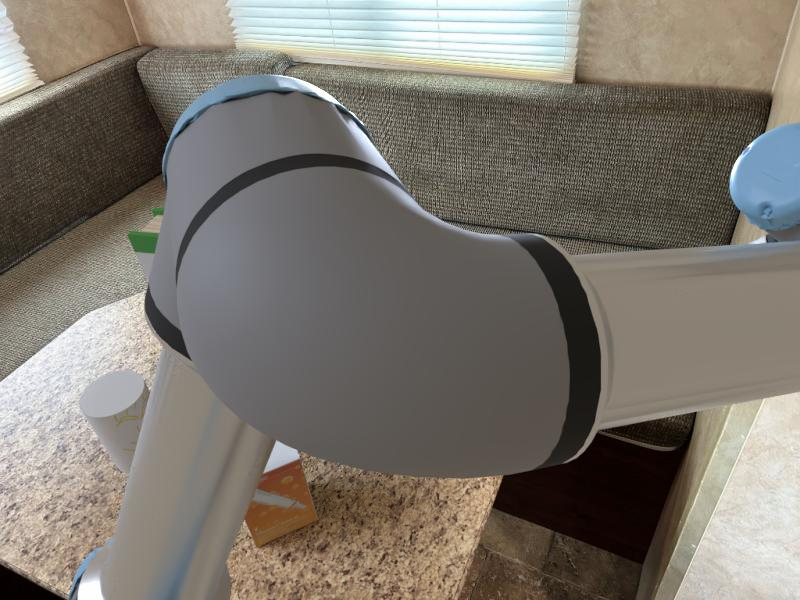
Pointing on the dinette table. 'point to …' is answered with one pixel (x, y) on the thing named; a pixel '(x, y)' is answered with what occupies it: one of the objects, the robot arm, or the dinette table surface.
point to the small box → (280, 498)
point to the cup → (117, 413)
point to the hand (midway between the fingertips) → (565, 374)
